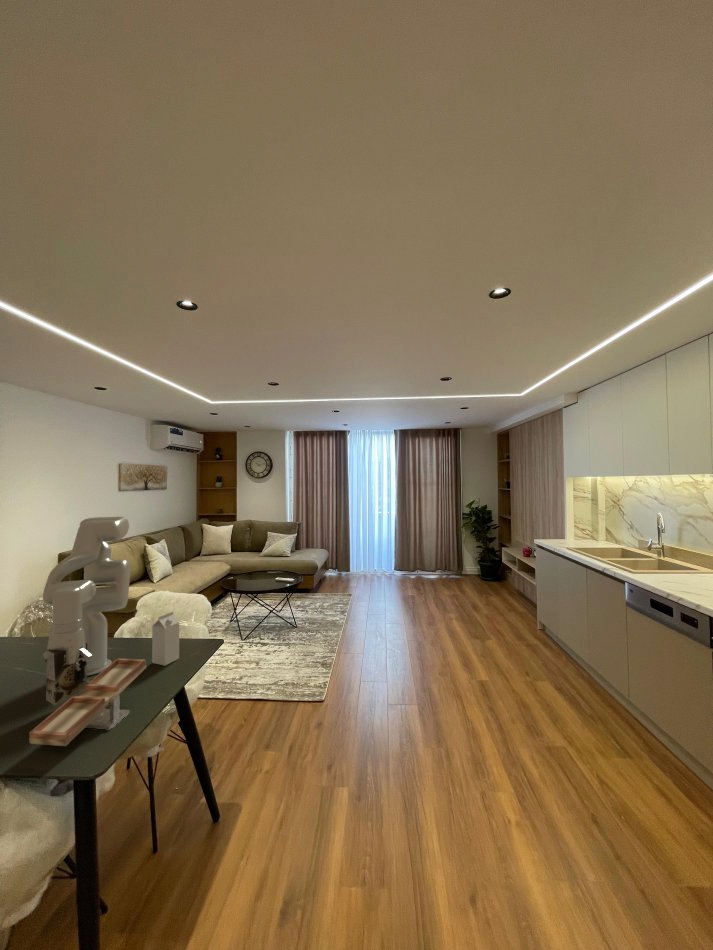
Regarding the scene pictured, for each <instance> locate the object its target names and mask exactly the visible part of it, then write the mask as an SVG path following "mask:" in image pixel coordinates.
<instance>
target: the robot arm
mask: <svg viewBox="0 0 713 950" xmlns="http://www.w3.org/2000/svg"><path fill="white" fill-rule="evenodd" d="M129 528H130V522H129V520H128V519H127V517H125V516H101V517H100V516H98V517H97V516H96V517H88V518H85V519H82V520H81V521H80V523H79V527H78V529H77V533H76V535H75V536H76V537H75V539H74V542H73V547H72V549H71V552H70V555H68V556H67V557H65V558H64V559H62V560H61V561H60V562H58V563H57V564H56V566H54V567H53V568H52V570H51V571H50V572H49V574H48V576H47V579H46V582H45V585H44V588H43V593H42V600H43V603H44V604H45V605H48V606H52V622H51V623H50V624H51V626H52V631H50V633H49V637H48V643H47V649H46V651H45V652H44V653H42V656H43V659H44V661H45V663H46V664H47V650H64V651H66V664H67V665H72V664H74V666H75V668H76V669H77V670H75V683H78V682H79V681H81V680H82V679H84V678H85V666H87V677H88V676H93V675H98V674H99V673H100V672H102V671H103V670H104V669H105V668H106V667H108V666H109V665H110V664H111V663H112V662H113V661H112V660H111V659H109V658H108V620H107V617H106V616H105V615H104V614H103V612H109V611H117V610H118V611H119V610H121V609H124V608H126V607H127V604H128V600H129V593H130V592H129V591H130V590H129V589H130V579H131V566H130V562H129V561H128V560H127V559H123V558H120V559H119V558H118V559H117V558H116V559H112V547H111V546H110V544H109V542H118V541H121V540H122V539H123V538H125V536H126V535H127V534H128V532H129ZM82 568H84V572H83V579H81V580H65V581H62V580H63V579H64V578H65V577H66V576H68V575H69V574H71V573H73V572H74V571H78V570H80V569H82ZM106 584H115V585H109V586H97V585H106ZM86 643H87V651H86ZM80 654H81V655H82V656H83V657H82V656H81V658H79V655H80ZM78 658H79V659H78ZM84 658H85V659H84ZM78 661H80V663H81V664H80V665H79V663H78Z"/></svg>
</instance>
